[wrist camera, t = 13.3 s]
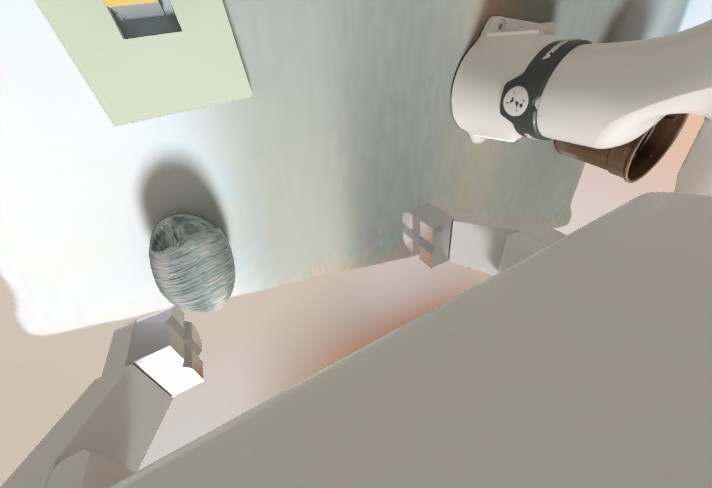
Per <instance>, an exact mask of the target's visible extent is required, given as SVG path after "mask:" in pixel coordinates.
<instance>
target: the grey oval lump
mask: <svg viewBox="0 0 712 488" xmlns="http://www.w3.org/2000/svg"><path fill="white" fill-rule="evenodd" d="M149 257H150V265H151V269H152V273H153V276H154V279H155V282H156V284H157V286H158V288H159V290H160V292H161V293H162V294H163V295H164V296H165V297H166V298H167V299H168V300H169V301H170V302H171V303H172V304H174V305H176V306H178V307H180V308H182V309H186V310H188V311H193V312H212V311H215V310H218V309H220V308H221V307H223V306H224V305H225V303H226V302H227V301H228V299H229V298H230V296H231V293H232V290H233V287H234V282H235V265H234V258H233V254H232V251H231V248H230V245H229V243H228V241H227V238H226V236H225V235H224V233H223V232H222V231H221V229H220V228H219V227H218V226H216V225H215V224H213V223H212V222H210V221H208V220H206V219H204V218H201V217H198V216H193V215H189V214H177V215H172V216H169V217H167V218H165V219H163V220H162V221H160V222H159V223H158V224H157V225H156V227H155V228H154V229H153V231H152V235H151V239H150V247H149Z"/></svg>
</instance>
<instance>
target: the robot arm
mask: <svg viewBox="0 0 712 488" xmlns="http://www.w3.org/2000/svg"><path fill="white" fill-rule="evenodd" d="M558 25H559V24H558V22H546V23H542V24H541V23H535V22H529V21H524V20H518V19H512V18H507V17H501V16H492V17H490V18H489V20H488V21H487V23H486V25H485V27H484V29H483V31H482V33H481V35H480V37H479V39H478V40H477V41H476V43H475V44H474V45H473V46H472V47H471V49H470V50H469V51H468V52H467V54H466V55H465V57H464V59H463V60H462V62H461V64H460V66H459V68H458V71H457V74H456V77H455V80H454V84H453V89H452V99H451V102H452V112H453V116H454V118H455V121H456V122H457V124H458V125H459V126H460V127H461V128H462V129H463V130H465V131H467V132H468V133H469V136H470V138H471V140H472V141H473V142H474V143H481V142H483V141H485V140H486V139H488V138H490V139H496V140H502V141H508V142H514V141H515V140H517V139H519V138H521V137H522V136H525V137H528V138H531V139H535V140H551V139H555V140H560V141H564V142H569V143H573V144H578V145H583V146H587V147H592V148H596V149H607V148H613V147H617V146H621V145H624V144H626V143H629V142H631V141H633V140H635V139H636V138H638V137H639V136H641V135H642V134H644V133H645V132H646V131H648V130H649V129H650V128H652V127H653V126H654V125H655V124H657V123H658V122H659V121H660V120H661V119H662V118H663V117H665V116H666V115H668V114H679V113H689V114H699V115H702V116H705V119H704V123H703V125H702V127H701V129H700V131H699V133H698V135H697V137H696V138H695V140H694V142H693V145H692V146H691V148H690V150H689V152H688V154H687V156H686V159H685V160H684V162H683V164H682V167H681V168H680V170H679V172H678V175H677V180H676V186H675V190H674V193H672V192H671V193H670V192H650V193H646V194H643V195H640V196H638V197H636V198H634V199H632V200H630V201H629V202H627V203H625V204H623V205H621V206H620V207H618V208H616V209H614V210H612V211H611V212H609V213H607V214H605V215H603V216H602V217H600V218H598V219H596V220H594V221H592V222H591V223H589V224H587V225H585V226H583V227H582V228H580V229H578V230H576V231H574V232H573V233H571V234H569V235H565V234H563V233H561V232H559V231H557V230H555V229H552V228H550V227H548V226H546V225H544V224H542V223H540V222H537V221H531V220H523V219H515V218H506V217H498V216H490V215H481V214H473V213H469V214H465V213H463V212H462V211H460V210H458V209H456V208H454V207H452V206H451V205H449V204H447V203H445V202H443V201H442V200H440V199H434V200H432V201H430V202H427V203H425V204H424V205H421V206H419V207H417V208H414V209H412V210H409V211H407V212H404V213H403V216H402V222H403V223H404V224H405V225H406V226H405V228H404V230H403V239H404V242H405V244H406V246H407V247H408V249H409V250H410V251H411V252H413V253H416V254H420V259H421V260H422V261H423V262H424V263H425V264H427V265H428V266H429V267H430V268H432V267H435V266H437V265H439V264H441V263H443V262H446V261H448V260H449V261H451V262H454V263H457V264H460V265H463V266H466V267H469V268H472V269H475V270H478V271H481V272H485V273H487V274H490V275H493V276H492V277H491V278H489V279H487V280H485V281H483V282H481V283H480V284H478V285H476V286H474V287H472V288H471V289H469V290H467V291H465V292H463V293H461V294H459V295H458V296H456V297H454V298H452V299H450V300H449V301H447V302H445V303H443V304H441V305H439V306H438V307H436V308H434V309H432V310H430V311H429V312H427V313H425V314H423V315H421V316H419V317H418V318H416V319H414V320H412V321H410V322H408V323H407V324H405V325H403V326H402V327H399V328H398V329H396V330H394V331H392V332H390V333H388V334H387V335H385V336H383V337H381V338H380V339H378V340H376V341H374V342H372V343H370V344H368V345H367V346H365V347H363V348H361V349H360V350H357V351H356V352H354V353H352V354H350V355H348V356H347V357H345V358H343V359H341V360H339V361H338V362H336V363H334V364H332V365H330V366H328V367H327V368H325V369H323V370H321V371H319V372H317V373H316V374H314V375H312V376H310V377H308V378H306V379H305V380H303V381H301V382H299V383H297V384H296V385H294V386H292V387H290V388H288V389H286V390H285V391H283V392H281V393H279V394H277V395H276V396H274V397H272V398H270V399H268V400H266V401H265V402H263V403H261V404H259V405H257V406H256V407H254V408H252V409H250V410H248V411H246V412H245V413H243V414H241V415H239V416H237V417H235V418H234V419H232V420H230V421H228V422H226V423H225V424H223V425H221V426H219V427H217V428H215V429H214V430H212V431H210V432H208V433H206V434H205V435H203V436H201V437H199V438H197V439H195V440H194V441H192V442H190V443H188V444H186V445H185V446H183V447H181V448H179V449H177V450H175V451H174V452H172V453H170V454H168V455H166V456H164V457H163V458H161V459H159V460H157V461H156V462H154V463H152V464H150V465H148V466H146V467H144V468H143V469H141V470H139V471H137V470H138V469H139V467H140V464H141V462H142V460H143V458H144V456H145V454H146V452H147V450H148V448H149V446H150V444H151V442H152V440H153V438H154V436H155V434H156V432H157V430H158V428H159V426H160V424H161V422H162V420H163V418H164V416H165V414H166V412H167V409H168V408H169V406H170V403H171V401H172V399H173V398H172V397H173V396H175V395H177V394H179V393H180V392H183V391H184V390H186V389H188V388H190V387H192V386H194V385H196V384H198V383H200V382H202V381H203V363H202V361H201V360H200V358H199V357H198V356H199V354H200V352H201V350H202V345H201V340H200V337H199V334H198V332H197V330H196V328H195V327H194V325H193V324H192V323H191V322H187V321H184V313H183V312H182V311H181V310H180V308H179V307H178V306H172V307H169V308H167V309H164V310H162V311H159V312H156V313H154V314H151V315H149V316H146V317H144V318H141V319H138V320H137V321H133V322H131V323H128V324H126V325H123V326H121V327H118V328H117V329H116V330H115V331H114V333H113V337H112V341H111V344H110V348H109V352H108V356H107V359H106V363H105V366H104V370H103V373H102V377H100V378H98V379H95V380H94V381H93V383H92V384H91V385H90V386H89V387H88V388H87V389H86V391H85V392H84V393H83V394H82V395H81V396H80V397H79V398H78V400H77V401H76V402H75V403H74V404H73V405H72V406H71V408H70V409H69V410H68V411H67V412H66V413H65V414H64V416H63V417H62V418H61V419H60V420H59V421H58V422H57V424H56V425H55V426H54V427H53V428H52V429H51V431H49V433H48V434H47V435H46V436H45V437H44V438H43V439H42V441H41V442H40V443H39V444H38V445H37V446H36V448H35V449H34V450H33V451H32V452H31V453H30V454H29V455H28V457H27V458H26V459H25V460H24V461H23V462H22V463H21V465H20V466H19V467H18V468H17V469H16V470H15V471H14V473H13V474H12V475H11V476H10V477H9V478H8V479H7V481H6V482H5V483H4V484H3V485H2V486H1V487H0V488H712V19H711V20H709V21H707V22H705V23H702V24H700V25H697V26H695V27H692V28H690V29H687V30H684V31H681V32H678V33H675V34H671V35H667V36H662V37H657V38H650V39H642V40H635V41H625V42H613V43H597V44H593V43H592V42H590V41H587V40H581V39H568V38H564V37H559V36H555V34H556V31H557V28H558Z"/></svg>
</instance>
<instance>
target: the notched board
mask: <svg viewBox="0 0 712 488" xmlns="http://www.w3.org/2000/svg"><path fill="white" fill-rule="evenodd" d="M35 2H36V3H37V5H38V7H39V8H40V10H41V11H42V13H43V15H44V16H45V18H46V19H47V21H48V22H49V24H50V26H51V27H52V29H53V30H54V32H55V33H56V35H57V37H58V38H59V40H60V41H61V43H62V45H63V46H64V48H65V49H66V51H67V52H68V54H69V56H70V57H71V59H72V60H73V62H74V63H75V65H76V67H77V68H78V70H79V71H80V73H81V75H82V76H83V78H84V79H85V81H86V82H87V84H88V86H89V87H90V89H91V90H92V92H93V94H94V95H95V97H96V98H97V100H98V101H99V103H100V105H101V106H102V108H103V109H104V111H105V112H106V114H107V116H108V117H109V119H110V120H111V122H112V124H113V125H114V127H115V126H119V125H124V124H129V123H133V122H138V121H142V120H147V119H152V118H156V117H161V116H165V115H170V114H175V113H179V112H184V111H189V110H193V109H198V108H202V107H207V106H212V105H216V104H221V103H225V102H230V101H235V100H239V99H244V98H248V97H253V95H252V91H251V88H250V85H249V82H248V79H247V76H246V73H245V70H244V67H243V63H242V60H241V57H240V54H239V51H238V48H237V45H236V42H235V38H234V35H233V32H232V29H231V26H230V23H229V20H228V17H227V14H226V10H225V7H224V4H223V1H222V0H170V3H171V5H172V8H173V10H174V13H175V15H176V17H177V20H178V22H179V25H180V27H181V30H182V31H181V32H174V33H166V34H159V35H152V36H144V37H137V38H130V39H125V37H124V35H123V33H122V31H121V29H120V27H119V25H118V23H117V21H116V19H115V17H114V15H113V13H112V12H111V10H110V8H109V7H108V6H106V4H105V2H104V0H35Z"/></svg>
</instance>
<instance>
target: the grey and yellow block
mask: <svg viewBox="0 0 712 488" xmlns="http://www.w3.org/2000/svg"><path fill="white" fill-rule="evenodd" d="M104 2H105V4H106V6H108V7H109V8H111V9H112V10H114V11H115V12H117V13H118V14H120V15H121V16H123V17H124V18H126V19H127V20H130V19H138V18H147V17H155V16H164V15H165V14H164V12H163V9H162V7H161V4H160V2H159V0H104Z"/></svg>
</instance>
